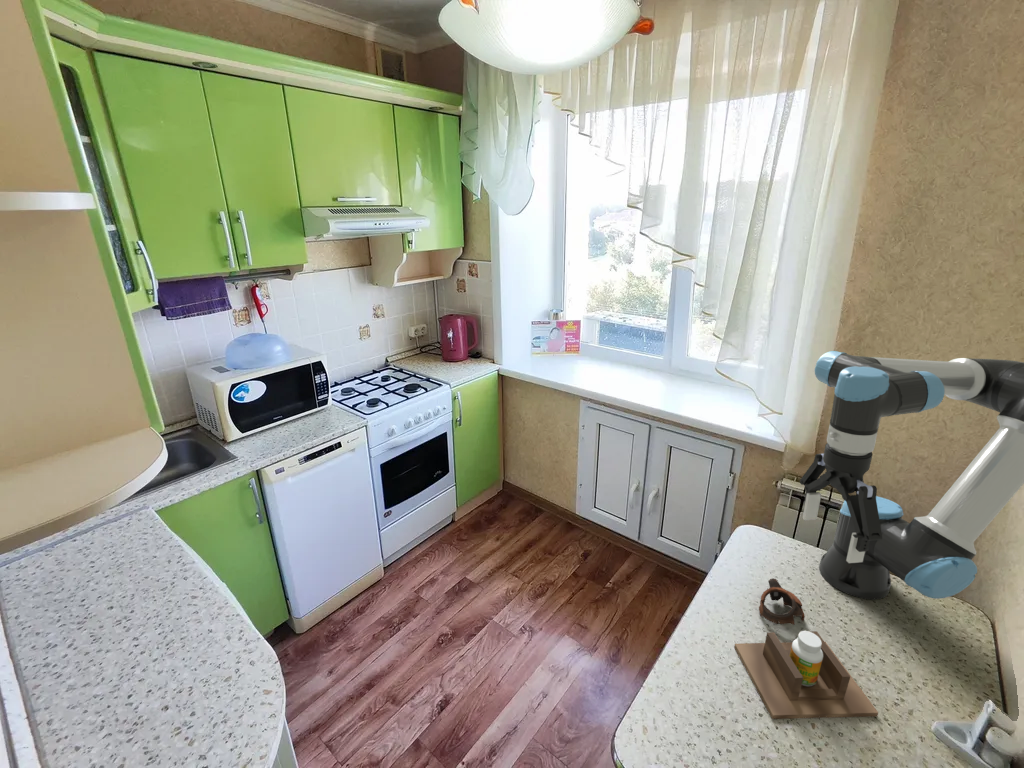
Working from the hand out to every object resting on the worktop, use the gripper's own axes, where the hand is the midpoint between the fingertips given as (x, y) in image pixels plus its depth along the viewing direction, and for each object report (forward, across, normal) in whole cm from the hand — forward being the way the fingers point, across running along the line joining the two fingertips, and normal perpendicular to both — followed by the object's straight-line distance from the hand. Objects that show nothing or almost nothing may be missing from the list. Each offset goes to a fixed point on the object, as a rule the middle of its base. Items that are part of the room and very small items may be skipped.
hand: (830, 539), depth 99 cm
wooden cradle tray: (+26, +10, -9) cm, 29 cm away
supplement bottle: (+25, +10, -9) cm, 29 cm away
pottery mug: (+27, -7, -3) cm, 28 cm away
